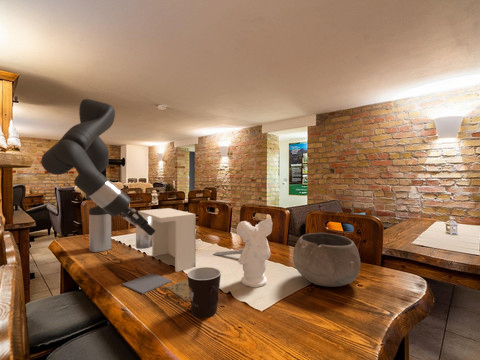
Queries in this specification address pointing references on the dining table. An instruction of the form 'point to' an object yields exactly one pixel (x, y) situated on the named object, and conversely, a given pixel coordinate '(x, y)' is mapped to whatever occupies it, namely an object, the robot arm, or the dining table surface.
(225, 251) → the caliper
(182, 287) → the cookie
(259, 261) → the cherub figurine
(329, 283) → the clay pot
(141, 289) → the rubber mat
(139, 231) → the pale cylinder
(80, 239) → the dining table surface
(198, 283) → the coffee mug
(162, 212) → the white c-shaped side table
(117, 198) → the robot arm
